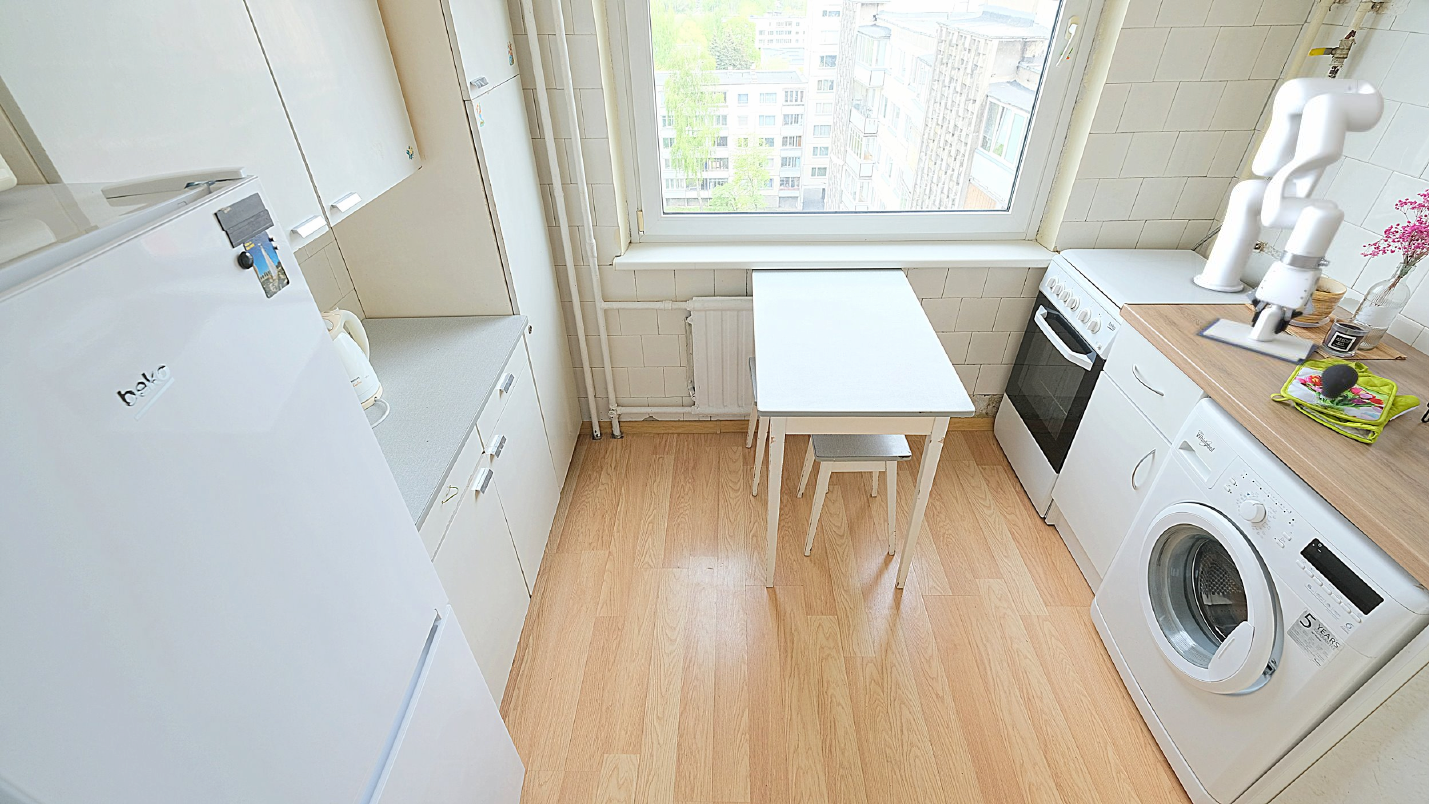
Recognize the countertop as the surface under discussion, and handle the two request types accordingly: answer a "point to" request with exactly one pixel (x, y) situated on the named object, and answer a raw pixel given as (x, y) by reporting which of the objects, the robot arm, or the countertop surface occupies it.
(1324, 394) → the light bulb
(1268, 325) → the eye dropper bottle
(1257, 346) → the grey flat slab
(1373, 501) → the countertop surface
